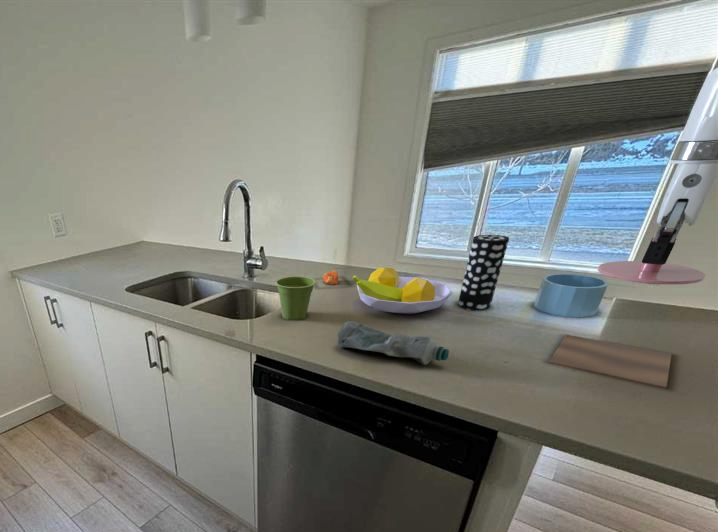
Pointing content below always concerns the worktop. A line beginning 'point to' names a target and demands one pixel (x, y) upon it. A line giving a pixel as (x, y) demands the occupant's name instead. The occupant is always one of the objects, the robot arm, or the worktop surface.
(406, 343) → the crushed plastic bottle
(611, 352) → the wooden cutting board
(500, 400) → the worktop surface
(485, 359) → the worktop surface
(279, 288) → the plant pot
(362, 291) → the fruit bowl
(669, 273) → the pink lid with handle
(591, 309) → the bowl
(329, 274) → the raw meat
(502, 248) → the spotted tube
